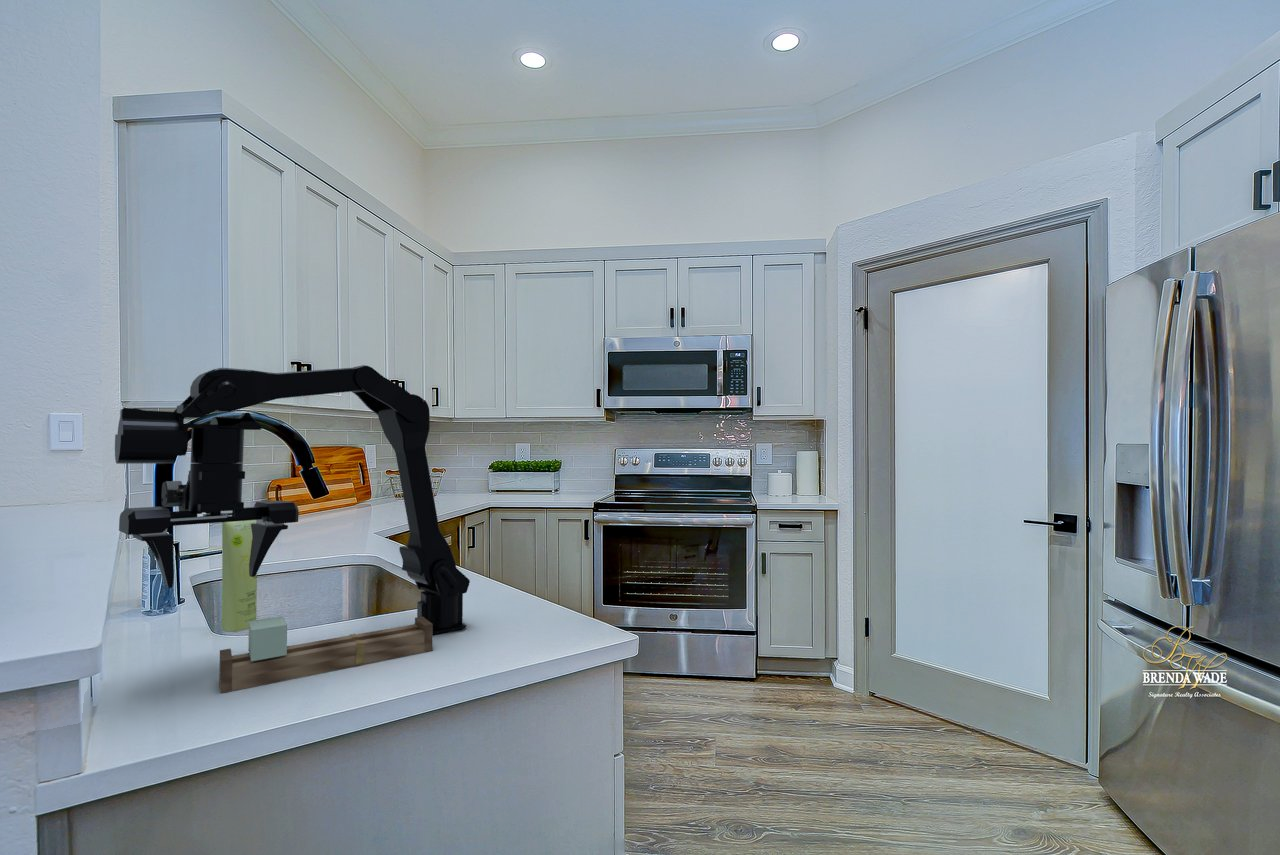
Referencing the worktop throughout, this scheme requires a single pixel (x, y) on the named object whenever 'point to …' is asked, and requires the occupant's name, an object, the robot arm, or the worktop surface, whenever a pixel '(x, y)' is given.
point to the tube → (237, 577)
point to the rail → (325, 656)
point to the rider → (267, 638)
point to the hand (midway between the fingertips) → (212, 581)
